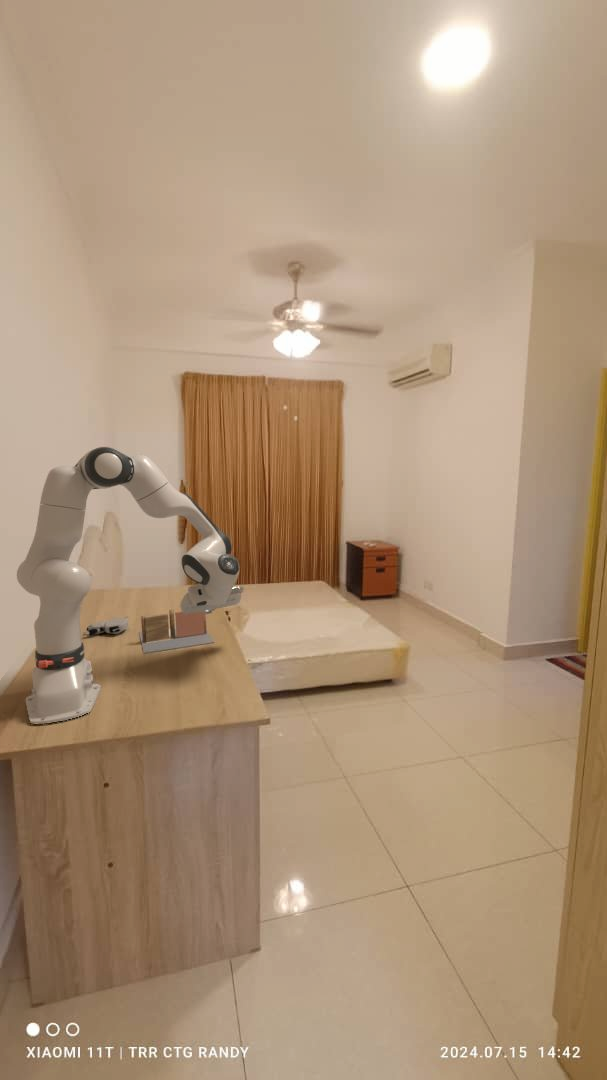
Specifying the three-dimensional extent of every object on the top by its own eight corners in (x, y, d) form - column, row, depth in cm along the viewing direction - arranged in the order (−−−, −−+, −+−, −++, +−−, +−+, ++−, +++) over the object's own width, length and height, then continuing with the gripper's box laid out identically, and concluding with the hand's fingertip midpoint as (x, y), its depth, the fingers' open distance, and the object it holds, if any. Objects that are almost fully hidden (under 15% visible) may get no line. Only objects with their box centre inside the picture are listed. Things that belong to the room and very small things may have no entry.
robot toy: (84, 642, 176) (126, 635, 179) (82, 630, 175) (124, 624, 178) (91, 631, 187) (130, 625, 190) (89, 620, 187) (129, 614, 190)
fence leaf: (206, 633, 179) (205, 608, 178) (177, 638, 175) (175, 612, 173) (206, 632, 180) (205, 607, 179) (176, 637, 176) (175, 611, 174)
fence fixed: (175, 639, 175) (174, 610, 173) (143, 644, 170) (141, 614, 168) (174, 638, 176) (173, 609, 174) (142, 642, 172) (140, 613, 170)
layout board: (214, 642, 171) (213, 641, 171) (144, 653, 162) (143, 652, 162) (202, 624, 191) (202, 623, 191) (139, 633, 182) (139, 632, 182)
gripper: (242, 578, 161) (231, 599, 171) (183, 587, 150) (175, 609, 160) (248, 594, 158) (237, 614, 168) (189, 604, 147) (180, 626, 157)
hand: (206, 612), depth 164 cm, fingers closed
